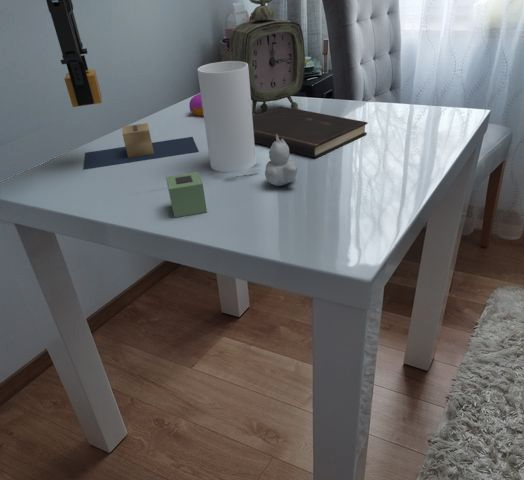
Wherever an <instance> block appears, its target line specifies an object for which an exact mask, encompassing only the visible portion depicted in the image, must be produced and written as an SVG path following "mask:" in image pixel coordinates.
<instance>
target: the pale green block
mask: <svg viewBox="0 0 524 480" xmlns="http://www.w3.org/2000/svg"><path fill="white" fill-rule="evenodd" d="M165 179H166V185H167V189H168V194H169V199H170V204H171V205H170V206H171V208H172V212H173V216H174V218H181V217H186V216H192V215H198V214H205V213H207V212H208V209H207V204H206V197H205V196H206V195H205V190H204V184H203V181H202V178H201V176H200V173H199V171H195V172H189V173H183V174H176V175H170V176H166V177H165Z"/></svg>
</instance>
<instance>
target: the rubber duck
mask: <svg viewBox="0 0 524 480" xmlns="http://www.w3.org/2000/svg"><path fill="white" fill-rule="evenodd" d="M268 158H269V160H270V161H268V162H267V163H266V166H265V170H264V175H265V179H266V181H267V182H268V183H269V184H271V185H273V186H276V187H280V186H281V187H282V186H285V185H288V184H289V183H294V182H295V181H297V173H298V165H297V163H296V161H294V160H291V159H290V151H289V147H288V145H287V144H286V143H285V141H284V140H283V139H281V140H279V138H278V135H277V134H276V141H274V143H272V147H270V148H269V151H268Z"/></svg>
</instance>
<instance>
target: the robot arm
mask: <svg viewBox="0 0 524 480" xmlns="http://www.w3.org/2000/svg"><path fill="white" fill-rule="evenodd" d="M45 1H46V6H47V8H48V12H49V13H50V16H51V17H50V18H51V20H52V23H53V27H54V30H55V34H56V37H57V41H58V45H59V48H60V51H61V54H62V55H61V57H62V59H60V63H61V65H66V68H67V71H68V72H67V73H69V75H70V79H71V82H72V85H73V89H74V92H75V96H76V99H77V103H78V107H82V106H81V105H85V106H89V105H88V104H92V105H95V104H94V100H93V96H92V93H91V89H90V85H89V82H88V78H87V74H86V70H89V68H88V64H87V59H86V57H85V55H88V54H89V53H88V52H89V51H88V49H87V48H84V47H83V46H84V45H83V42H82V39H81V36H80V31H79V28H78V24H77V21H76V18H75V17H76V16H75V14H74V4H73V1H72V0H45Z"/></svg>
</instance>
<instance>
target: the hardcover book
mask: <svg viewBox="0 0 524 480" xmlns="http://www.w3.org/2000/svg"><path fill="white" fill-rule="evenodd" d="M252 119H253V131H254V144H258V145H263V146H266V147H270V148H271V147H272V143H274V141H276V134H277V135H278V138H279V140H281V139H283V140H284V141H285V143H286V144H287V145H288V147H289V153H290V152H291V153H294V154H297V155H298V154H299V155H302V156H307V157H310V158H313V159H317V158H320V157H321V156H324V155H326V154H328V153H330V152H333V151H334V150H336V149H339V148H341V147H343V146H345V145H347V144H350V143H352V142H354V141H356V140H358V139H360V138H362V137H364V136H366V135H367V134H368V133H367V132H366V125H368V123H369V122H367V121H363V120H358V119H352V118H347V117H342V116H336V115H331V114H326V113H320V112H315V111H310V110H303V109H298V108H297V109H293V108H291V107H287V106H282V105H280V106H277V107H275V108H272V109H269V110H266V111H263V112H261V113H258V114H257V115H255V116H253V117H252Z"/></svg>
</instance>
